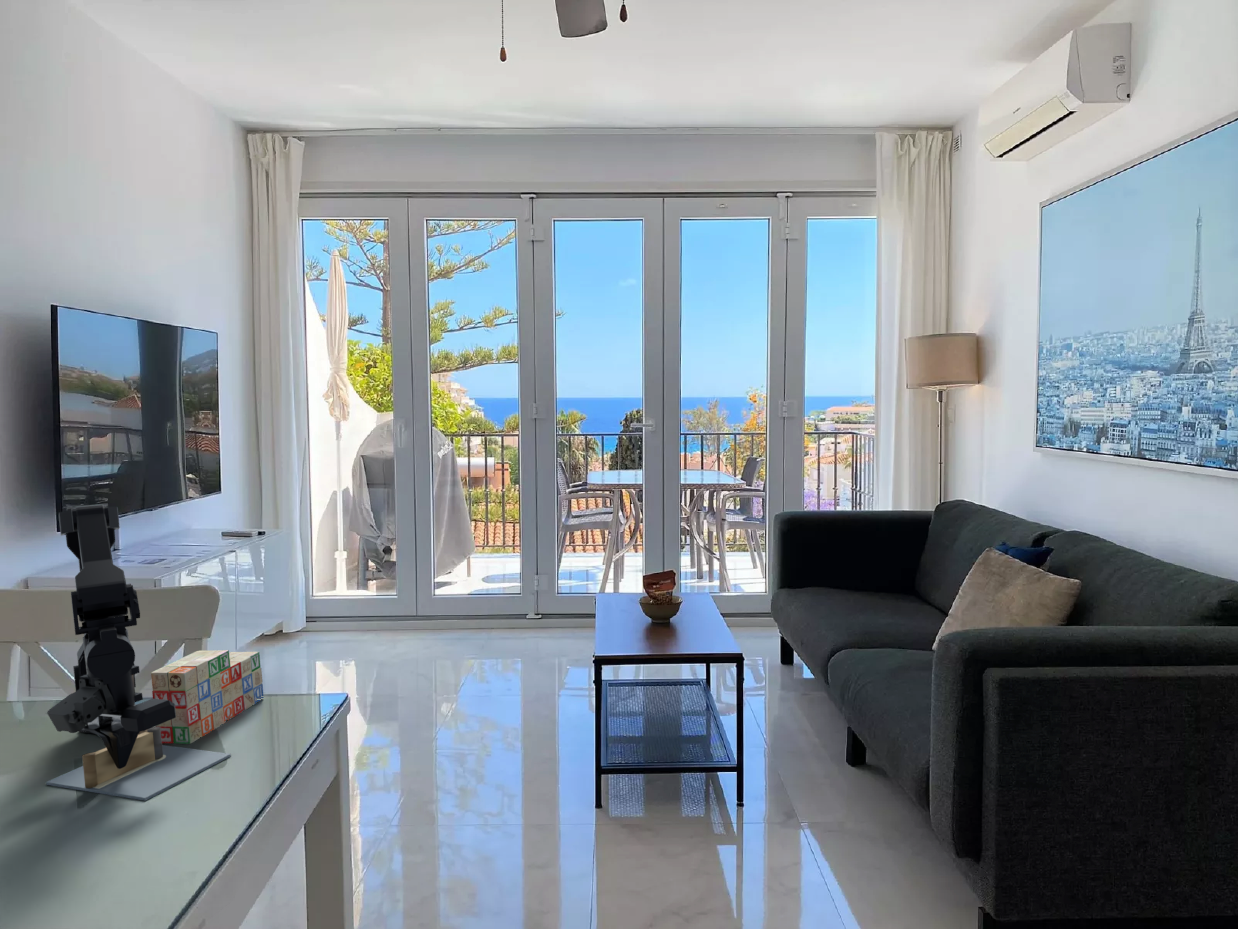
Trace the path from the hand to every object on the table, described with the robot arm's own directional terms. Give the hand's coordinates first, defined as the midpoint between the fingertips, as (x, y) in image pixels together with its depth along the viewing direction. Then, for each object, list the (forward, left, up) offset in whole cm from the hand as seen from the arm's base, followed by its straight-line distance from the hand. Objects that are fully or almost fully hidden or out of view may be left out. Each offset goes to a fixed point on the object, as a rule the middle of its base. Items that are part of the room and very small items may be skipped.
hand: (121, 767), depth 127 cm
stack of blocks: (-7, +24, -3) cm, 25 cm away
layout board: (-1, +4, -2) cm, 5 cm away
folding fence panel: (-2, +2, -2) cm, 3 cm away
